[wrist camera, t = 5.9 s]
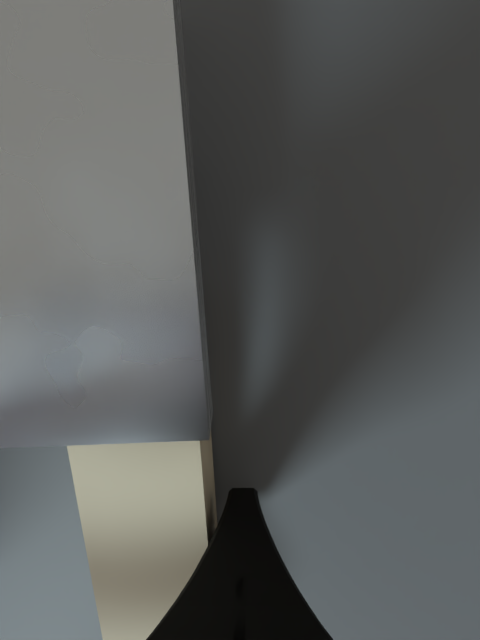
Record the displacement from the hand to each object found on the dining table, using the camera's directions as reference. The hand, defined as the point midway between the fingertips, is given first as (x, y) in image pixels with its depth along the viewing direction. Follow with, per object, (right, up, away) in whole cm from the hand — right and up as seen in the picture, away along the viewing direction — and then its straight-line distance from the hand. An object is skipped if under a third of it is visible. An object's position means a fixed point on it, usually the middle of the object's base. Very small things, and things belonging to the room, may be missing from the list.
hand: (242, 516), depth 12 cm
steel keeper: (-3, +8, -2) cm, 9 cm away
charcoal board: (0, +1, +2) cm, 2 cm away
